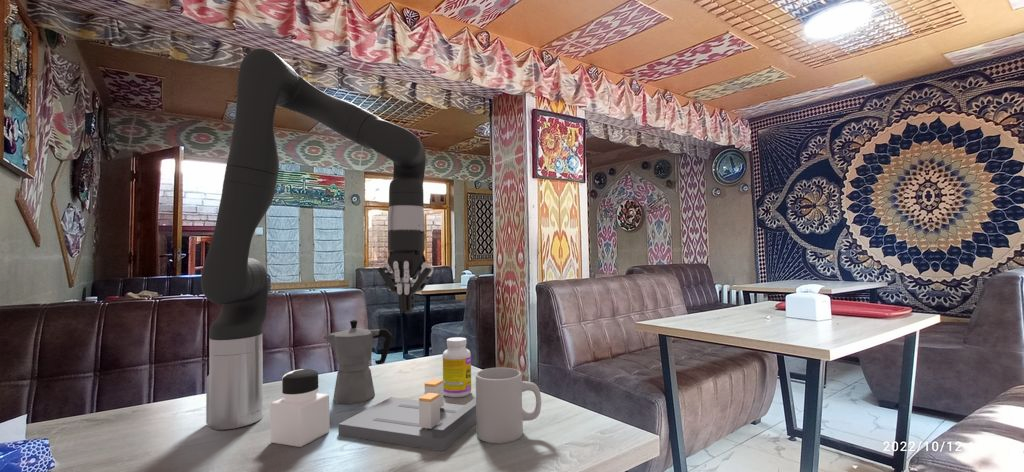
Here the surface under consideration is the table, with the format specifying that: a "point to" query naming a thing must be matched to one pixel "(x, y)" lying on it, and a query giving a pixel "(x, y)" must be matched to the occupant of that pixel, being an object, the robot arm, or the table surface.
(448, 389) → the supplement bottle
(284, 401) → the medicine bottle
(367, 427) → the console
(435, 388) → the fader far
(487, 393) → the mug
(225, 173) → the robot arm
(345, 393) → the coffeepot
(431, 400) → the fader near
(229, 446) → the table surface
